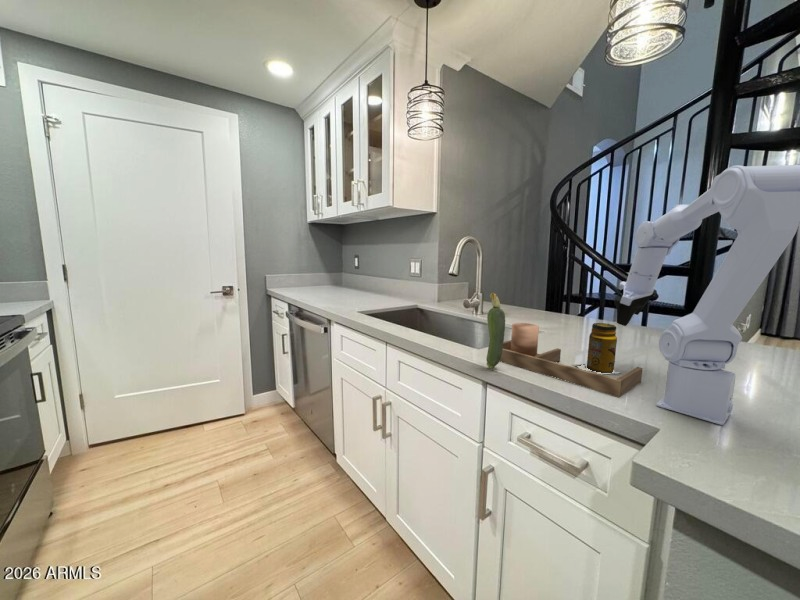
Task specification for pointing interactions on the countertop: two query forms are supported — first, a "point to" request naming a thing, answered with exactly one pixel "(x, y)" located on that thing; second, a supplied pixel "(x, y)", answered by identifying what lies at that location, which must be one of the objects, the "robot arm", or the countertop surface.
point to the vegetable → (495, 332)
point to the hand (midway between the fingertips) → (627, 318)
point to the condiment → (602, 348)
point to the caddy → (526, 356)
